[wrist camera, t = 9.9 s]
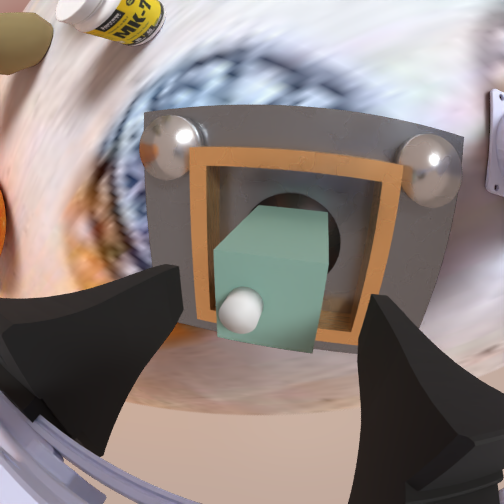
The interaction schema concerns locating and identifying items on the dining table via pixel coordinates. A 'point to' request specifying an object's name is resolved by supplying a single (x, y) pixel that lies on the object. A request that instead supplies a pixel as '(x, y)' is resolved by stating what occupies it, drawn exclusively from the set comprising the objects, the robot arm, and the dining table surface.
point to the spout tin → (273, 278)
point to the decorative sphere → (2, 222)
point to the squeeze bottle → (22, 41)
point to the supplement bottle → (114, 18)
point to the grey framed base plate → (304, 200)
